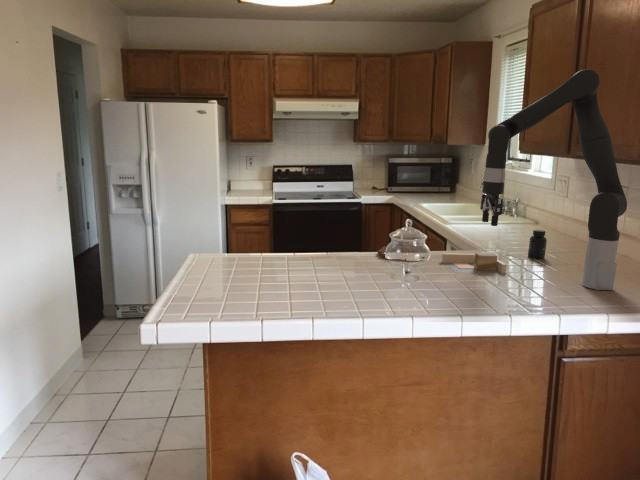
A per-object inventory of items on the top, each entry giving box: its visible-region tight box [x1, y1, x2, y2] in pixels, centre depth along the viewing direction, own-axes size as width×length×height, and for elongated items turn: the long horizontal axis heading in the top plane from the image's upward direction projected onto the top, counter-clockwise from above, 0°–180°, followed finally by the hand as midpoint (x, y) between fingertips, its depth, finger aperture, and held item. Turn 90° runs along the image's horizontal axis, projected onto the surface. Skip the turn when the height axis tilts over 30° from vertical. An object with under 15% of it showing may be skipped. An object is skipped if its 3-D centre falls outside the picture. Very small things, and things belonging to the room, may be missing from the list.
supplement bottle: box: [527, 229, 548, 260], centre depth 223 cm, size 7×7×12 cm
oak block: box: [474, 252, 498, 271], centre depth 198 cm, size 4×7×6 cm, turn 95°
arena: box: [440, 252, 508, 275], centre depth 202 cm, size 18×19×4 cm
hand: (489, 223), depth 195 cm, fingers open, 8 cm apart
